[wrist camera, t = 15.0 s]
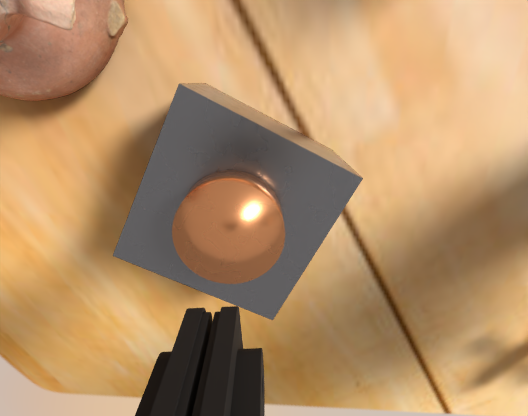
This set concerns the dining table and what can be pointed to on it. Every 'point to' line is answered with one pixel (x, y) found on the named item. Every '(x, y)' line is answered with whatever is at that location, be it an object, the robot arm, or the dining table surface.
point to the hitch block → (241, 159)
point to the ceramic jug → (56, 45)
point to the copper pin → (229, 227)
